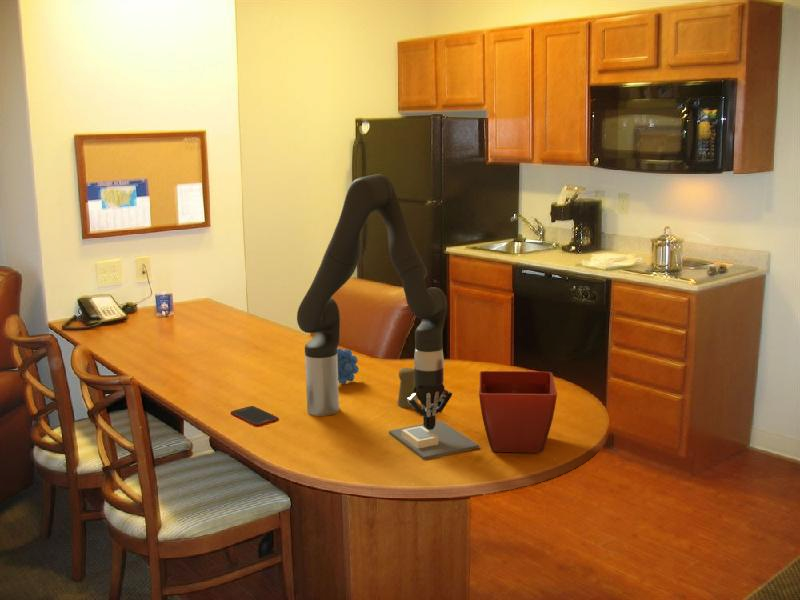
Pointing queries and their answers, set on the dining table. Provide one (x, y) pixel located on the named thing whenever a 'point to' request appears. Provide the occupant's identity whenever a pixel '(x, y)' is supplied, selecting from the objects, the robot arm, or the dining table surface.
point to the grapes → (346, 365)
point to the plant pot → (517, 409)
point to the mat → (447, 441)
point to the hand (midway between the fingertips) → (429, 428)
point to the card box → (419, 437)
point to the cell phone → (254, 416)
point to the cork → (406, 386)
